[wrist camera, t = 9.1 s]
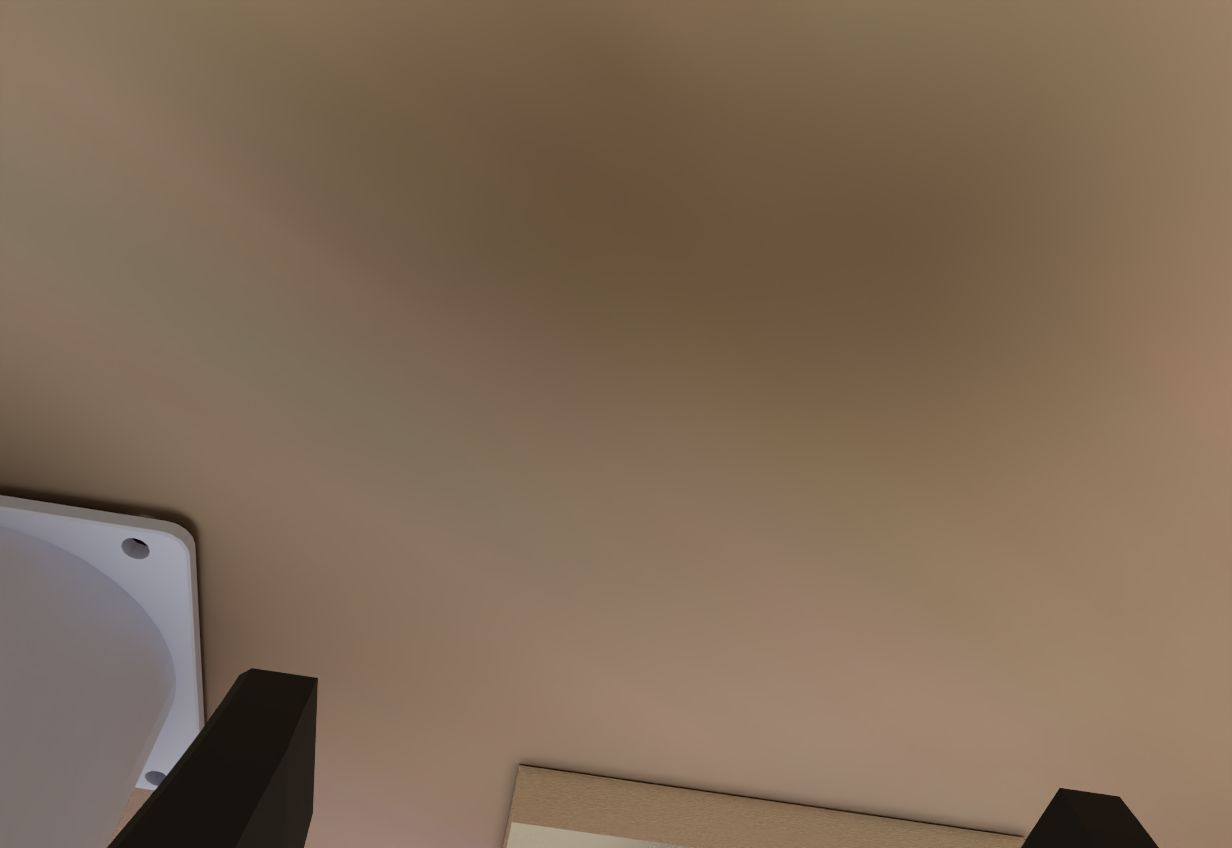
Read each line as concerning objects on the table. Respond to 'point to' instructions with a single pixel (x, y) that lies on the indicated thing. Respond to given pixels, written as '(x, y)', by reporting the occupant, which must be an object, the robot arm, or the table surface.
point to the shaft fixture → (700, 820)
